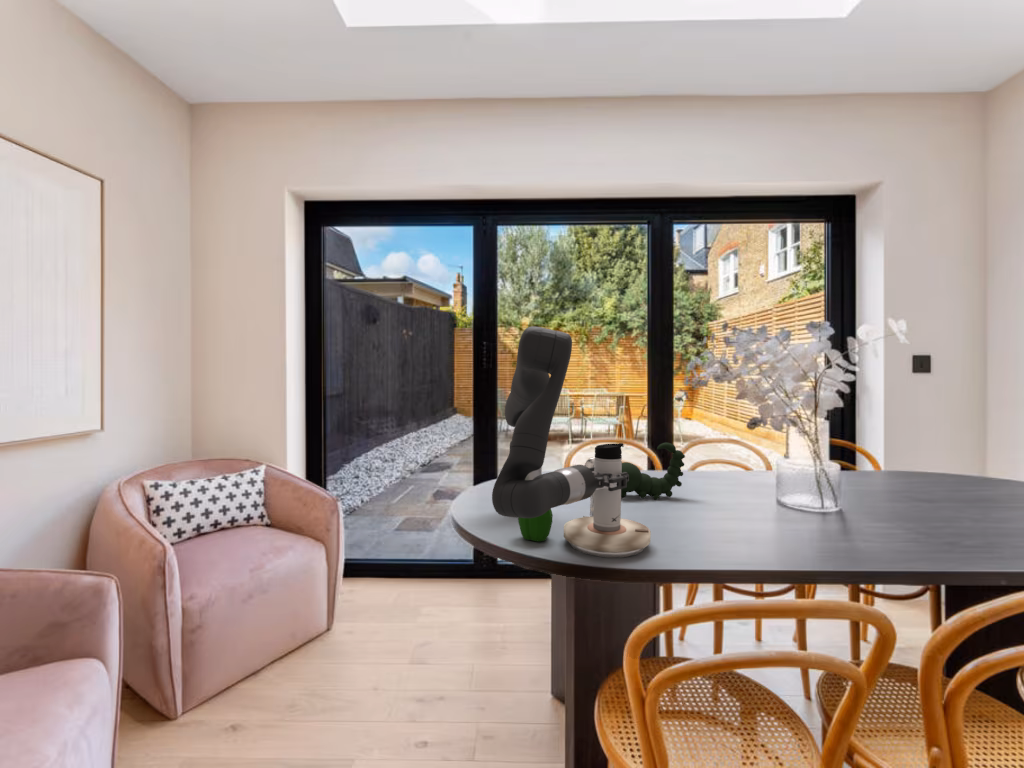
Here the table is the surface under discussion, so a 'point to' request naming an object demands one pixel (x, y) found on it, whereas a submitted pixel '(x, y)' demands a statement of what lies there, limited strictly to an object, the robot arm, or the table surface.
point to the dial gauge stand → (590, 464)
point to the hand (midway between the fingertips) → (610, 473)
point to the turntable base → (606, 554)
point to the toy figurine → (652, 484)
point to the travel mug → (604, 500)
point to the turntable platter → (607, 535)
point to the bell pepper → (536, 526)
